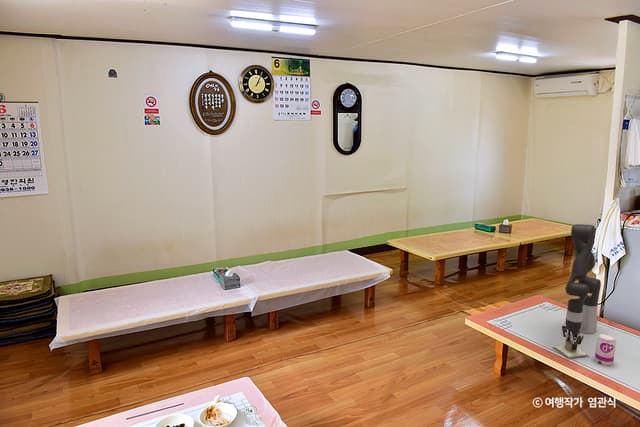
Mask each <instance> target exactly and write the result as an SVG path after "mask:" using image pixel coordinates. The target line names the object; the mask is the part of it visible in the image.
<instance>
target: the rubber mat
mask: <svg viewBox="0 0 640 427" xmlns="http://www.w3.org/2000/svg"><path fill="white" fill-rule="evenodd" d="M551 349H552V350H554V351H556V352H557V353H558V354H560V355H561V356H562V357H564V358H566V359H567V360H575V359H584V358H585V359H586V358H590V356H589V355H588V354H587V356H579V357H570V358H569V357H567V356H566V355H564V354H563V353H561V352H560V351H559V350H557V349H556V348H555V346H553V347H551Z"/></svg>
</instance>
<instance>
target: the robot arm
mask: <svg viewBox="0 0 640 427" xmlns="http://www.w3.org/2000/svg"><path fill="white" fill-rule="evenodd" d="M570 232H571V234H570V235H571V238H572V244H573V248H574V254H575V255H574V256H575V258H574V260H573V263H572V267H571V268H572V269H571V272H570V277H569V280H568V282H567V284H566V285H565V289H564V291H565V293H566V295H569V296H574V297H578V298H569V300H568V302H567V309H566V310H567V311H566V314H565V324H564V325H562V326H561V330H562V336H563V338H565V342H566V341H571V340H572V343H573V344H572V350H573V351H574V350H576V349H577V348H578V345H579V346H580V345H581V344H582V342H583V340H584V337H585V336H584V335H581V333H583V334H594V333H595V332H597V328H598V327H597V326H598V325H597V324H598V316H597V313H598V306H599V298H600V292H601V287H602V282H601V280H600V279H598V278H594V277H589V276H588V273H590V272H591V271H592V270H593V269H594V268H595V265H596V258H595V254H594V253H593V251H592V250H593V247H594V244H595V239H596V232H597V231H596V227H595V226H594V225H593V224H583V223H582V224H581V223H576V224H575V223H574V224H573V225H572V227H571V230H570ZM584 242H586V243H585V244H584ZM576 281H578V282H576ZM589 294H591V295H589Z"/></svg>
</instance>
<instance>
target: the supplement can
mask: <svg viewBox="0 0 640 427" xmlns="http://www.w3.org/2000/svg"><path fill="white" fill-rule="evenodd" d="M615 337H616V336H615ZM615 337H614V336H613V335H611V334H608V333H599V335H598V336H597V337H596V344H595V346H596V347H595V352H594V362H595V363H597V364H599V365H601V366H606V367H611V366H613V365H614V360H615V359H614V358H615V353H616V344H617V340H616V338H615Z"/></svg>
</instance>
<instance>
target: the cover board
mask: <svg viewBox="0 0 640 427" xmlns="http://www.w3.org/2000/svg"><path fill="white" fill-rule="evenodd" d="M570 340H571V341H566V340H565V344H562V345H555V346H554V347H555V348H556V349H557V350H559V351H560V352H561V353H563V354H564V355H566V356H567V357H569V358H570V357H579V356H587V355H588V353H586V352H584V351H583V350H582V349H580V348H579V347H577V349H576V350H574V351H573V350H572V344H573V343H572V339H570Z"/></svg>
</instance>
